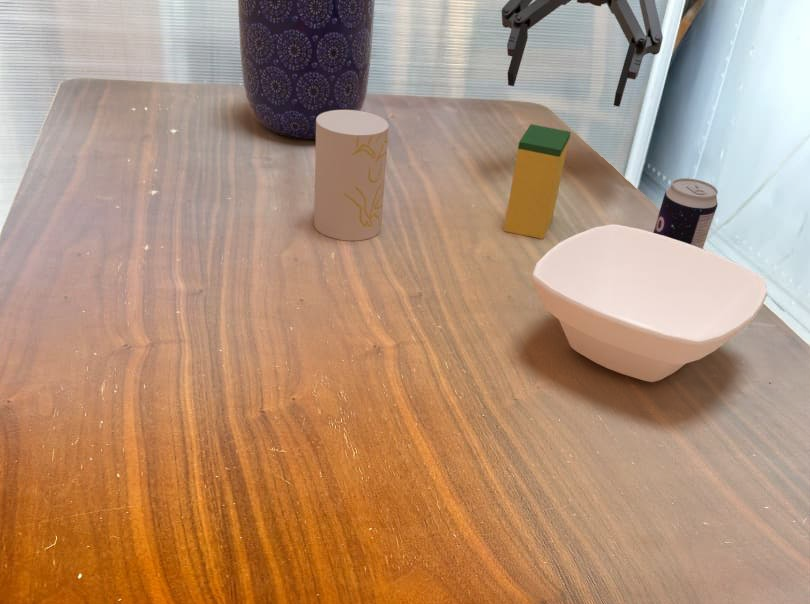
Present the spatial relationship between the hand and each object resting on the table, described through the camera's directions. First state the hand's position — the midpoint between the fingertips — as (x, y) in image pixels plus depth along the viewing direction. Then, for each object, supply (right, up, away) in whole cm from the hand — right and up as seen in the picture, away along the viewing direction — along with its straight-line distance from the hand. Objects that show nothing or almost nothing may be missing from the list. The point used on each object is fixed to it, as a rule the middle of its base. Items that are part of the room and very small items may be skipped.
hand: (563, 90), depth 110 cm
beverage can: (+10, -27, -8) cm, 30 cm away
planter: (-35, +5, +21) cm, 41 cm away
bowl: (+3, -37, -19) cm, 42 cm away
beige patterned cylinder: (-27, -18, -3) cm, 32 cm away
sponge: (-4, -16, +2) cm, 17 cm away
